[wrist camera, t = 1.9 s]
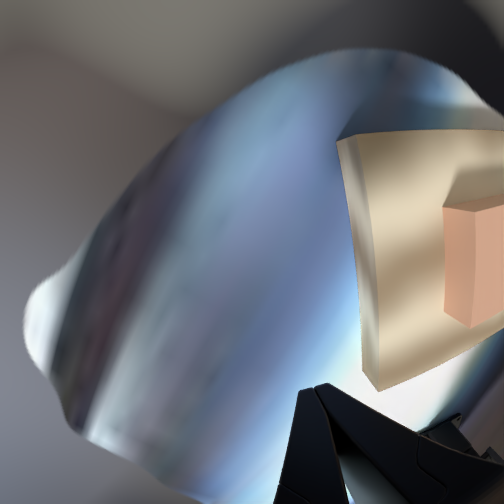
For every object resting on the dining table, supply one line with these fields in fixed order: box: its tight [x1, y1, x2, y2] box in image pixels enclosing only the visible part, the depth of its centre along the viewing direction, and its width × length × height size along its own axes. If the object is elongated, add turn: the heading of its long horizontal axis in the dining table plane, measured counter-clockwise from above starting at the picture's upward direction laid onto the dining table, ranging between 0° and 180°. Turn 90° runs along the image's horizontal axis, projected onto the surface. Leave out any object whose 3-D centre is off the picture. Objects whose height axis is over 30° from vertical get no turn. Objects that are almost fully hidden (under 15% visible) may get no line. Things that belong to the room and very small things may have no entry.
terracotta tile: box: [442, 194, 504, 329], centre depth 12 cm, size 6×6×2 cm
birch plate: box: [336, 129, 504, 392], centre depth 15 cm, size 14×18×2 cm
